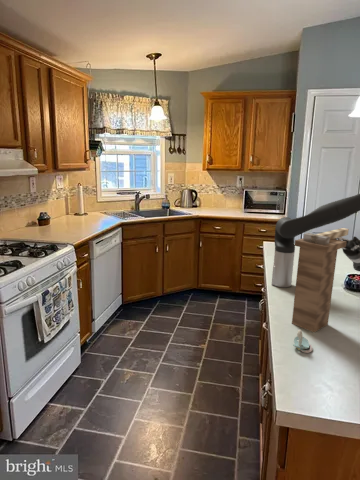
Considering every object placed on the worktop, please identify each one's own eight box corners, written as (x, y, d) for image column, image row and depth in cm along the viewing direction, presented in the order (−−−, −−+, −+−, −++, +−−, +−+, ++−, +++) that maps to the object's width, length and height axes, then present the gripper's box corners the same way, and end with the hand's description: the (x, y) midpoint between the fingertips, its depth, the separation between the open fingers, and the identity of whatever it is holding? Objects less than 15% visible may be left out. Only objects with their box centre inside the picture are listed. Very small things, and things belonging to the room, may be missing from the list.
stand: (316, 335, 122) (327, 246, 115) (286, 322, 131) (295, 240, 123) (335, 323, 131) (346, 241, 124) (306, 312, 139) (314, 235, 132)
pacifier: (312, 345, 115) (294, 341, 117) (315, 328, 114) (296, 324, 116) (311, 356, 109) (292, 351, 111) (314, 338, 107) (294, 333, 109)
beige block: (324, 244, 117) (325, 238, 117) (303, 240, 123) (303, 233, 123) (355, 236, 133) (356, 230, 132) (334, 232, 139) (335, 226, 138)
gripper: (341, 240, 151) (328, 225, 140) (376, 246, 141) (365, 231, 130) (335, 255, 150) (321, 242, 139) (370, 263, 140) (358, 249, 129)
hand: (342, 236), depth 135 cm, fingers open, 8 cm apart
